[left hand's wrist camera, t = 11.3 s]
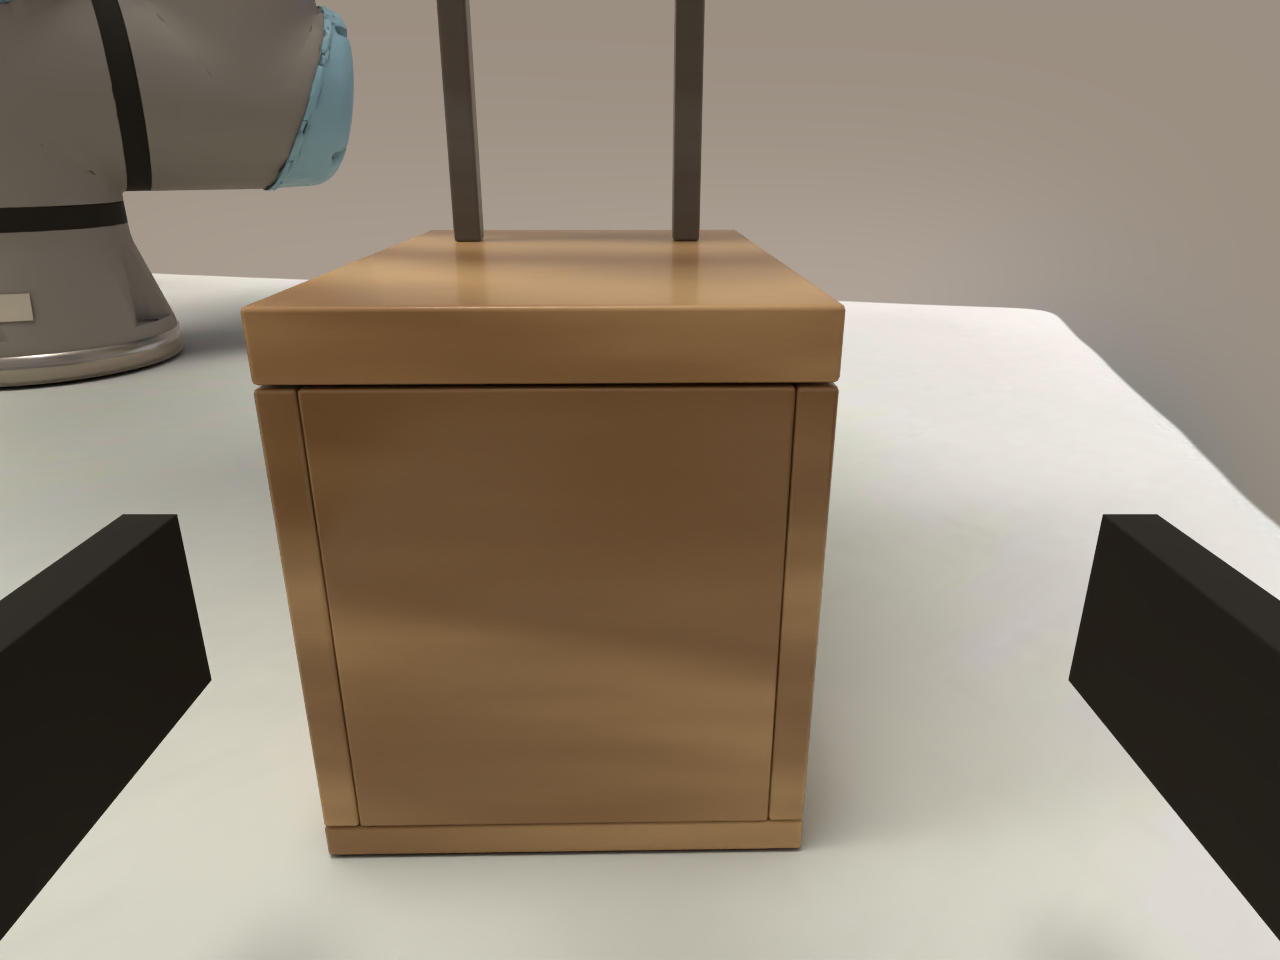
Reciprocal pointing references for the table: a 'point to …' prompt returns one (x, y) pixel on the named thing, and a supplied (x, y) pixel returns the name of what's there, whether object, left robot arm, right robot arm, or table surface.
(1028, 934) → the table surface
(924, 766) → the table surface
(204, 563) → the table surface
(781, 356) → the lid
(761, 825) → the chest
